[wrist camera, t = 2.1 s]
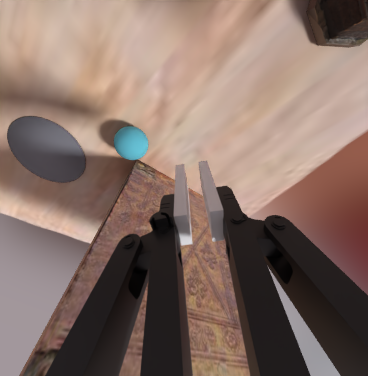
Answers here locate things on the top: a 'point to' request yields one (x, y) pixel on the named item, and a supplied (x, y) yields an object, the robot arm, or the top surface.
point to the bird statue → (339, 22)
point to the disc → (46, 149)
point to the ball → (131, 143)
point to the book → (193, 278)
